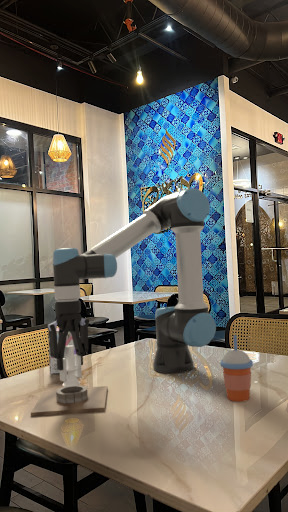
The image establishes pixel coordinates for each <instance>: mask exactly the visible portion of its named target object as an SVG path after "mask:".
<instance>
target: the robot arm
mask: <svg viewBox="0 0 288 512" xmlns="http://www.w3.org/2000/svg"><path fill="white" fill-rule="evenodd" d="M210 206H211V205H210V202H209V199H208V197H207V195H205V193H204V192H203V191H201V190H200V189H198V188H192V187H191V188H184V189H181V190H179V191H175V192H173V193H169V194H166V195H165V196H163V197H162V198H160V199H159V200H158V201H156V202H155V203H153V204H152V205H151V206H149V207H147V209H145V210H144V211H143V212H142V215H140V216H139V217H137V218H136V219H135V220H133V221H131V222H130V223H128V224H127V225H125V226H124V227H122V228H120V229H119V230H118V231H116V232H115V233H113V234H111V235H110V236H108V237H107V238H105V239H103V240H102V241H100V242H99V243H97V244H96V245H94V246H93V247H91V248H90V249H88V250H86V251H85V252H84V253H82V254H80V253H79V250H78V248H77V247H76V248H75V247H74V248H73V247H66V248H57V249H55V250H54V251H53V255H52V266H53V283H54V285H53V286H54V288H53V289H54V300H56V301H55V302H54V311H55V312H54V313H55V319H54V321H53V322H51V323H47V324H46V328H47V330H48V331H49V339H48V343H49V342H50V356H51V357H53V358H56V359H57V369H58V370H60V374H59V380H60V382H63V383H64V382H67V375H68V372H67V367H66V359H65V358H64V352H65V345H66V338H67V335H68V332H70V333H71V334H72V338H73V343H74V347H75V351H76V355H75V366H76V367H79V368H78V369H77V370H76V371H74V374H75V376H76V378H78V379H81V378H82V377H83V376H82V375H83V372H82V366H83V365H84V356H85V355H86V353H87V352H89V324H90V319H88V318H84V317H82V316H81V311H82V308H81V307H82V305H81V304H82V303H81V300H79V299H80V298H81V286H80V285H81V283H80V282H81V281H80V280H86V279H87V280H89V279H93V280H94V279H108V278H113V277H115V276H116V274H117V272H118V271H117V270H118V261H117V258H118V257H120V256H121V255H123V254H124V253H125V252H127V251H129V250H130V249H131V248H133V247H134V246H136V245H137V244H139V243H140V242H142V241H143V240H145V239H146V238H148V237H149V236H151V235H152V234H153V233H155V234H158V233H161V231H163V230H165V229H167V228H170V230H171V231H172V232H173V233H174V234H175V252H176V267H177V268H176V274H177V294H178V301H177V304H176V305H175V306H167V307H160V308H156V310H155V316H154V321H155V333H156V336H155V338H156V350H155V354H154V359H153V362H152V364H153V366H152V369H153V371H155V372H158V373H163V374H178V373H180V374H181V373H185V372H189V371H191V370H193V369H194V367H195V365H194V360H193V357H192V355H191V351H190V349H189V347H192V348H194V347H195V348H196V347H197V348H202V347H205V346H207V345H208V344H210V343H211V340H213V339H214V337H215V335H216V330H217V325H216V321H215V319H214V318H213V316H212V315H211V314H210V313H209V305H208V304H207V303H206V302H205V301H204V285H203V283H204V282H203V267H202V262H203V261H202V245H201V244H202V243H201V233H202V231H203V230H204V228H205V220H206V219H207V217H208V216H209V214H210V211H211V207H210ZM79 325H80V327H79ZM57 328H59V332H58V334H59V338H58V344H57V331H56V329H57ZM48 331H47V332H48Z"/></svg>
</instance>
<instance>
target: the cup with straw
mask: <svg viewBox="0 0 288 512" xmlns="http://www.w3.org/2000/svg"><path fill="white" fill-rule="evenodd" d="M232 336H233V349H232V350H231V349H230V350H228V351H227V352H226V353H225V354H224V356H223V357H222V359H221V360H220V366H221V367H222V370H223V371H222V373H223V374H222V375H223V381H224V387H225V390H226V397H227V399H228V400H229V401H230V402H235V403H237V402H238V403H239V402H246V401H249V400H250V393H251V386H252V385H251V384H252V383H251V382H252V371H251V368H252V367H253V365H254V361H253V360H252V359H251V358H250V356H249V355H248V354H247V353H246V352H245V351H244V350H240V349H238V339H237V338H238V337H237V334H234V335H232Z"/></svg>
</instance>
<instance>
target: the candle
mask: <svg viewBox="0 0 288 512" xmlns="http://www.w3.org/2000/svg"><path fill="white" fill-rule="evenodd" d="M65 357H66V367H67V382H64V381H63V383H62V386H63V387H74V386H78V385H81V381H79V378H78V377H76V376H75V371H76V370H77V369H78V368H79V367H76V366H75V355H74V346H73V345H68V346H65Z"/></svg>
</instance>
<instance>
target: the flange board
mask: <svg viewBox="0 0 288 512" xmlns="http://www.w3.org/2000/svg"><path fill="white" fill-rule="evenodd" d="M107 396H108V385H105V386H90V387H89V386H88V387H87V386H85V385H81V384H80V385H78V386H74V387H64V386H63V387H60V388H57V389H45V390H43V392H42V393H41V395H40V397H39V398H38V401H36V403H35V405H34V406H33V408H32V410H31V411H30V417H39V416H55V415H57V416H58V415H71V414H82V413H83V414H84V413H98V412H99V413H100V412H106V404H107Z"/></svg>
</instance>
